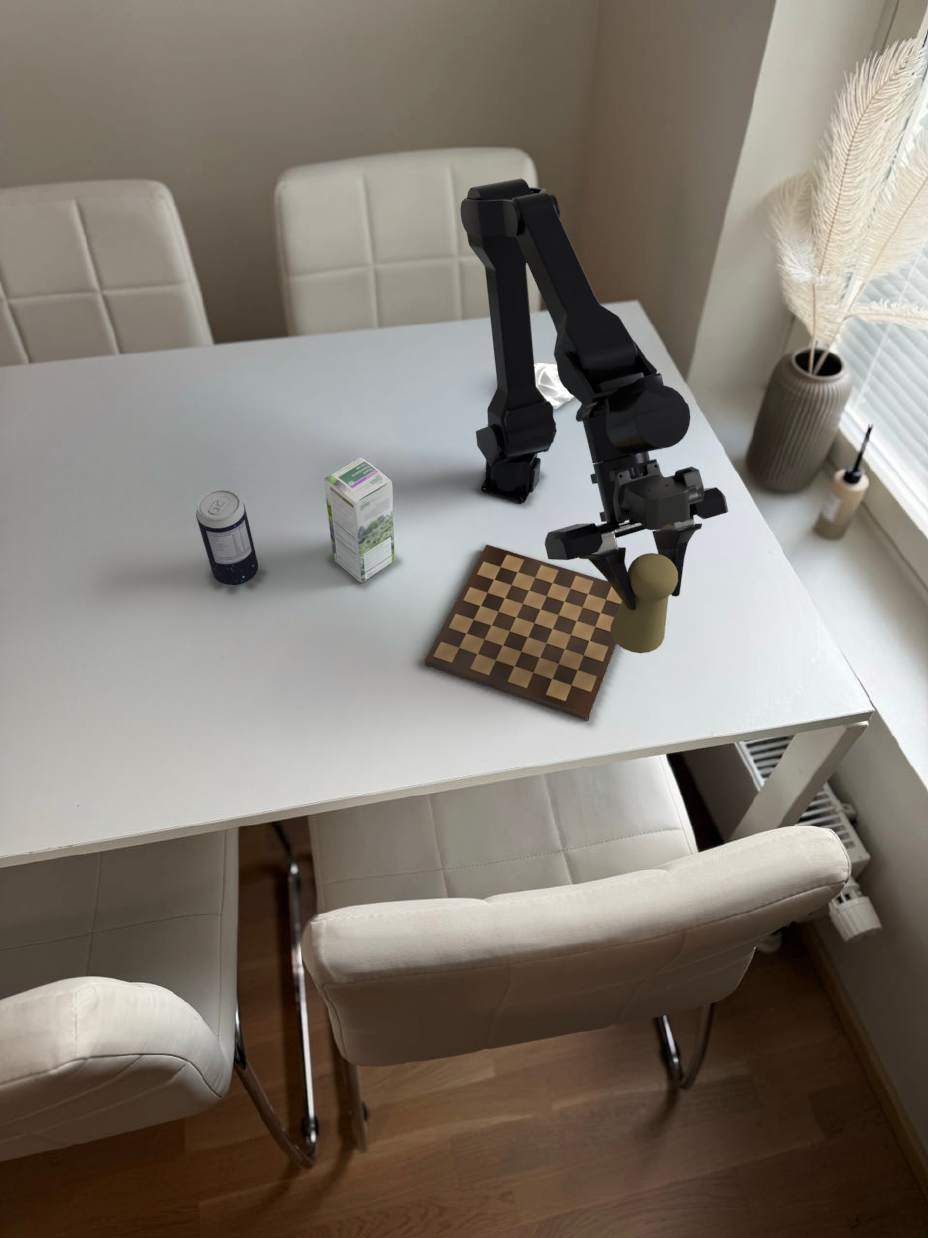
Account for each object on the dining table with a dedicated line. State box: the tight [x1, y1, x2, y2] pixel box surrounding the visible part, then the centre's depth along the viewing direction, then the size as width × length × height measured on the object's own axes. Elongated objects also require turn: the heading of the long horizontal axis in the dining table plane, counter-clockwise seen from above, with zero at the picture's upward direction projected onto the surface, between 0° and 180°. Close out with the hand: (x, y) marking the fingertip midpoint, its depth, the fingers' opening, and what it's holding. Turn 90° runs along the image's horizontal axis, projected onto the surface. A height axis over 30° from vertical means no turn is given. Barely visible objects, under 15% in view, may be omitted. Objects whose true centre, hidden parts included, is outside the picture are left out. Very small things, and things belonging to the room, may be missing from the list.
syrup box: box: [323, 456, 396, 584], centre depth 112 cm, size 6×6×14 cm
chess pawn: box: [610, 552, 678, 654], centre depth 99 cm, size 6×6×11 cm
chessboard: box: [424, 544, 622, 722], centre depth 111 cm, size 20×20×1 cm
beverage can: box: [195, 489, 259, 587], centre depth 111 cm, size 6×6×12 cm
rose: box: [534, 362, 575, 410], centre depth 138 cm, size 10×4×10 cm
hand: (654, 603), depth 97 cm, fingers closed on chess pawn, 5 cm apart
